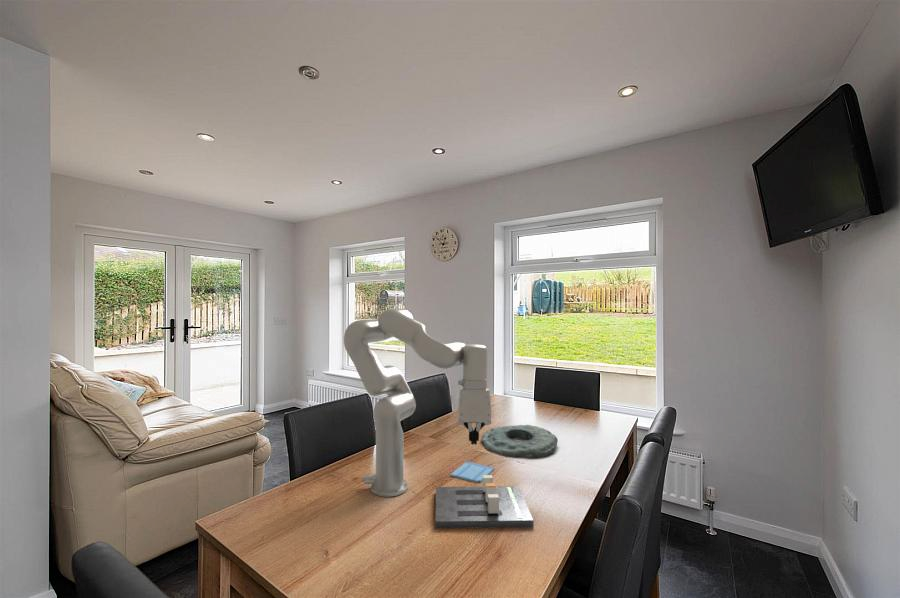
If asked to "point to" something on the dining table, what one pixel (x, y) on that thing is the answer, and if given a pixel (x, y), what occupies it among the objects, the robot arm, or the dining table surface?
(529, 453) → the stone ring
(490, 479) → the block
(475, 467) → the light blue flat plate
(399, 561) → the dining table surface
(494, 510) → the block
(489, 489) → the block
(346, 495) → the dining table surface
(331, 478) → the dining table surface
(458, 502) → the panel
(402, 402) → the robot arm
